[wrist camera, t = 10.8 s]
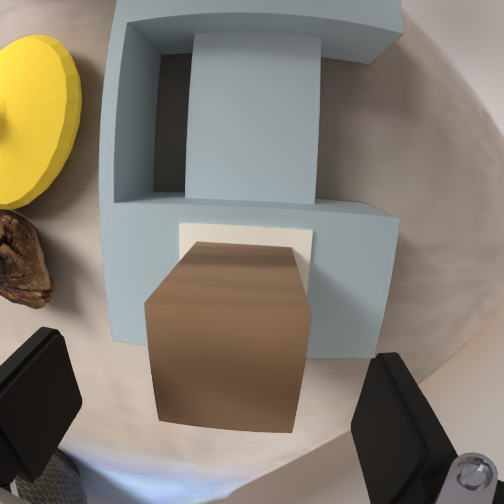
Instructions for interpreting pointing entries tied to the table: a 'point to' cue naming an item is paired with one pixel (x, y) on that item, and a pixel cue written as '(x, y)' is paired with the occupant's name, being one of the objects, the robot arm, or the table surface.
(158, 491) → the table surface
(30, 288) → the driftwood
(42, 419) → the robot arm
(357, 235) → the slot box
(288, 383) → the walnut block
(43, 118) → the yellow piece
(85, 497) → the planter
